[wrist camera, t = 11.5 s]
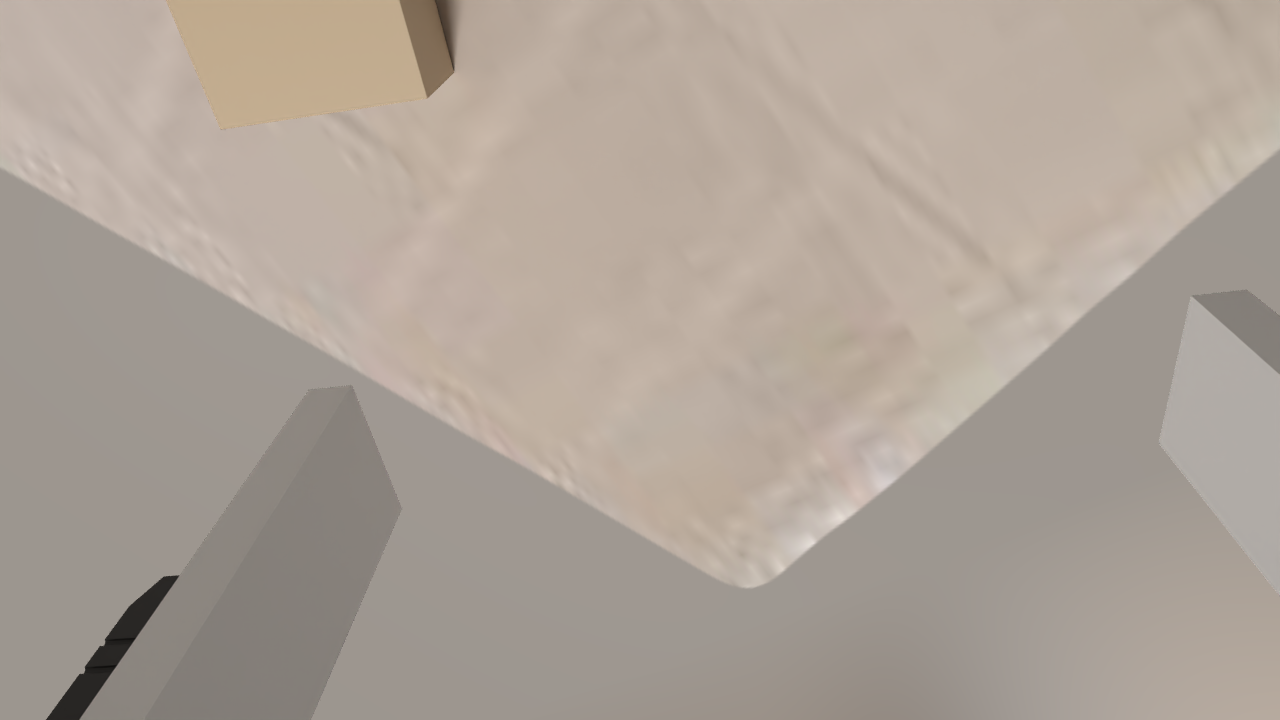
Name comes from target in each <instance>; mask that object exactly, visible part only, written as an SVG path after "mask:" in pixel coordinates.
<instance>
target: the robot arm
mask: <svg viewBox="0 0 1280 720" xmlns="http://www.w3.org/2000/svg"><path fill="white" fill-rule="evenodd" d="M1159 444H1160V445H1161V446H1162V448H1163V449H1164V450H1165V452H1166V453H1167V454H1168V455H1169V457H1170V458H1171V459H1172V460H1173V462H1174V463H1175V464H1176V465H1177V467H1178V468H1179V469H1180V471H1181V472H1182V473H1183V474H1184V475H1185V477H1186V478H1187V479H1188V481H1189V482H1190V483H1191V485H1192V486H1193V487H1194V488H1195V490H1196V491H1197V492H1198V493H1199V495H1200V496H1201V497H1202V498H1203V500H1204V501H1205V502H1206V504H1207V505H1208V506H1209V507H1210V509H1211V510H1212V511H1213V512H1214V514H1215V515H1216V516H1217V517H1218V519H1219V520H1220V521H1221V523H1222V524H1223V525H1224V526H1225V528H1226V529H1227V530H1228V531H1229V532H1230V534H1231V535H1232V536H1233V538H1234V539H1235V540H1236V541H1237V543H1238V544H1239V545H1240V547H1241V548H1242V549H1243V550H1244V552H1245V553H1246V554H1247V555H1248V556H1249V558H1250V559H1251V560H1252V562H1253V563H1254V564H1255V566H1256V567H1257V568H1258V569H1259V571H1260V572H1261V573H1262V574H1263V575H1264V577H1265V578H1266V579H1267V581H1268V582H1269V583H1270V584H1271V586H1272V587H1273V588H1274V589H1275V591H1276V592H1277V593H1278V595H1279V596H1280V316H1279V315H1278V314H1277V313H1276V312H1274V311H1273V310H1272V309H1271V308H1269V307H1268V306H1267V305H1266V304H1264V303H1263V302H1262V301H1261V300H1259V299H1258V298H1257V297H1256V296H1254V295H1253V294H1252V293H1250V292H1249V291H1248V290H1241V291H1231V292H1221V293H1212V294H1203V295H1193V296H1191V299H1190V303H1189V308H1188V313H1187V317H1186V322H1185V326H1184V331H1183V335H1182V340H1181V344H1180V349H1179V353H1178V358H1177V363H1176V367H1175V372H1174V376H1173V381H1172V386H1171V390H1170V394H1169V399H1168V404H1167V408H1166V413H1165V417H1164V422H1163V427H1162V431H1161V435H1160V440H1159ZM401 510H402V508H401V505H400V503H399V500H398V498H397V495H396V493H395V490H394V488H393V485H392V483H391V480H390V478H389V476H388V473H387V471H386V468H385V466H384V463H383V461H382V458H381V456H380V453H379V451H378V448H377V446H376V443H375V441H374V438H373V436H372V433H371V431H370V428H369V426H368V424H367V421H366V419H365V416H364V414H363V411H362V409H361V406H360V404H359V401H358V399H357V396H356V394H355V392H354V389H353V386H352V385H349V386H339V387H330V388H320V389H311V390H308V392H307V393H306V395H305V396H304V398H303V399H302V401H301V402H300V403H299V405H298V406H297V408H296V409H295V411H294V412H293V413H292V415H291V416H290V418H289V419H288V421H287V422H286V424H285V425H284V426H283V428H282V429H281V431H280V432H279V434H278V435H277V436H276V438H275V439H274V441H273V442H272V444H271V445H270V446H269V448H268V449H267V451H266V452H265V454H264V455H263V457H262V458H261V459H260V461H259V462H258V464H257V465H256V467H255V468H254V469H253V471H252V472H251V474H250V475H249V477H248V478H247V480H246V481H245V482H244V484H243V485H242V487H241V488H240V490H239V491H238V492H237V494H236V495H235V497H234V498H233V500H232V501H231V503H230V504H229V505H228V507H227V508H226V510H225V511H224V513H223V514H222V516H221V517H220V518H219V520H218V521H217V523H216V524H215V526H214V527H213V528H212V530H211V531H210V533H209V534H208V536H207V537H206V538H205V540H204V541H203V543H202V544H201V546H200V547H199V549H198V550H197V551H196V553H195V554H194V556H193V557H192V559H191V560H190V561H189V563H188V564H187V566H186V567H185V569H184V570H183V572H182V573H181V574H180V575H179V576H166V577H163V578H162V579H161V580H159V581H158V582H157V583H156V584H155V585H154V586H152V587H151V588H150V589H149V590H148V591H147V592H146V593H144V594H143V595H142V596H141V597H140V598H138V599H137V600H136V601H135V602H134V603H133V604H131V605H130V606H129V608H128V609H127V610H126V612H125V613H124V614H123V616H122V617H121V618H120V620H119V621H118V622H117V624H116V625H115V627H114V628H113V629H112V631H111V632H110V633H109V635H108V636H107V637H106V639H105V645H104V646H100V647H99V648H98V650H97V651H96V652H95V654H94V655H93V657H92V658H91V659H90V661H89V662H88V663H87V665H86V666H85V673H84V674H79V676H78V677H77V678H76V680H75V681H74V682H73V684H72V685H71V686H70V688H69V689H68V691H67V692H66V693H65V695H64V696H63V697H62V699H61V700H60V701H59V703H58V704H57V706H56V707H55V708H54V710H53V711H52V713H51V714H50V715H49V716H48V718H47V719H46V720H311V718H312V716H313V714H314V711H315V709H316V707H317V705H318V702H319V700H320V697H321V695H322V693H323V691H324V688H325V686H326V684H327V681H328V679H329V677H330V674H331V672H332V669H333V667H334V665H335V663H336V660H337V658H338V656H339V653H340V651H341V649H342V647H343V644H344V642H345V639H346V637H347V635H348V632H349V630H350V628H351V626H352V623H353V621H354V619H355V616H356V614H357V612H358V609H359V607H360V605H361V602H362V600H363V598H364V595H365V593H366V591H367V588H368V586H369V584H370V581H371V579H372V577H373V575H374V572H375V570H376V568H377V565H378V563H379V561H380V558H381V556H382V553H383V551H384V549H385V546H386V544H387V542H388V540H389V537H390V535H391V533H392V530H393V528H394V526H395V523H396V521H397V519H398V516H399V514H400V512H401Z"/></svg>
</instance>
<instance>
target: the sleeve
mask: <svg viewBox="0 0 1280 720" xmlns="http://www.w3.org/2000/svg"><path fill="white" fill-rule="evenodd" d="M166 2H167V4H168V6H169V9H170V11H171V13H172V16H173V18H174V20H175V23H176V25H177V28H178V30H179V32H180V35H181V37H182V39H183V42H184V44H185V46H186V49H187V51H188V54H189V56H190V58H191V61H192V63H193V65H194V68H195V70H196V72H197V75H198V77H199V80H200V82H201V84H202V87H203V89H204V91H205V94H206V96H207V98H208V101H209V103H210V106H211V108H212V110H213V113H214V115H215V117H216V120H217V122H218V124H219V127H220V129H221V130H222V129H228V128H235V127H241V126H248V125H255V124H261V123H268V122H275V121H281V120H288V119H295V118H301V117H308V116H315V115H321V114H328V113H335V112H341V111H348V110H355V109H361V108H368V107H374V106H381V105H388V104H394V103H401V102H408V101H414V100H421V99H427V98H428V97H429V96H430V95H431V94H432V93H434V92H435V91H436V90H437V89H438V88H439V87H440V86H441V85H442V84H443V83H444V82H445V81H446V80H447V79H448V78H449V77H450V76H451V75H452V74H453V73H454V70H453V66H452V63H451V59H450V55H449V51H448V48H447V44H446V40H445V36H444V32H443V29H442V25H441V21H440V17H439V14H438V10H437V6H436V2H435V0H166Z"/></svg>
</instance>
